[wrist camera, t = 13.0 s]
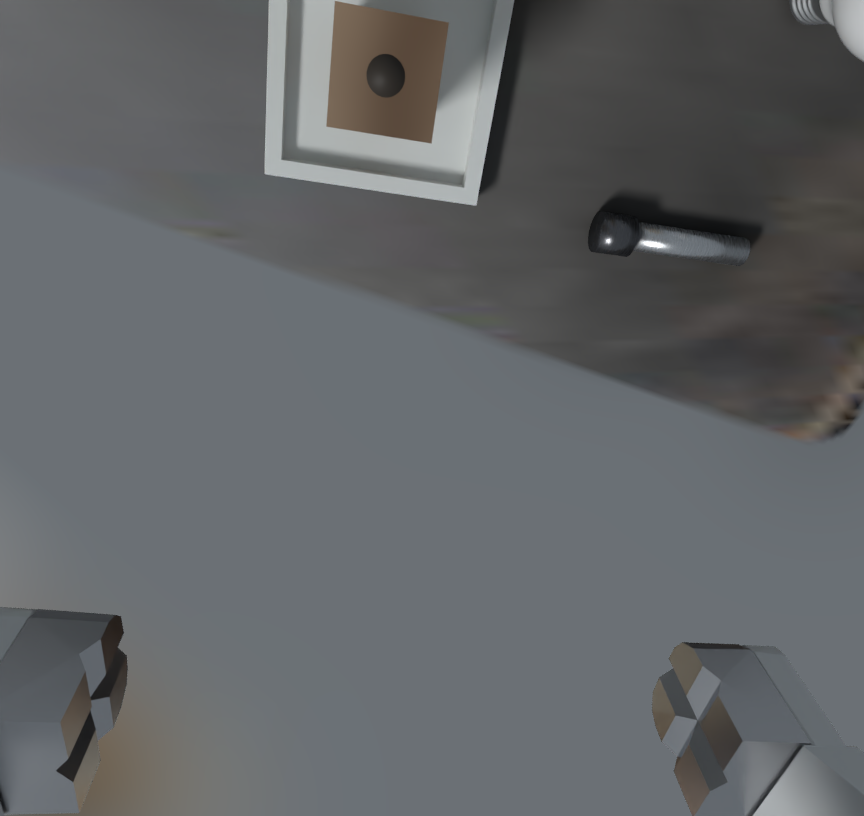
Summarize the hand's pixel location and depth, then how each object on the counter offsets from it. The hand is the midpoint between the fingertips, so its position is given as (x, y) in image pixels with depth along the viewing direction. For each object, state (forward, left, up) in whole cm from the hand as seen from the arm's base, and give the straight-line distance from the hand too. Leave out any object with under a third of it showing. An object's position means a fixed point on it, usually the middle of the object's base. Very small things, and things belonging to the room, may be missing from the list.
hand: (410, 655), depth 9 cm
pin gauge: (+16, +1, -29) cm, 33 cm away
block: (-1, +7, -28) cm, 29 cm away
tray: (-1, +7, -29) cm, 30 cm away
